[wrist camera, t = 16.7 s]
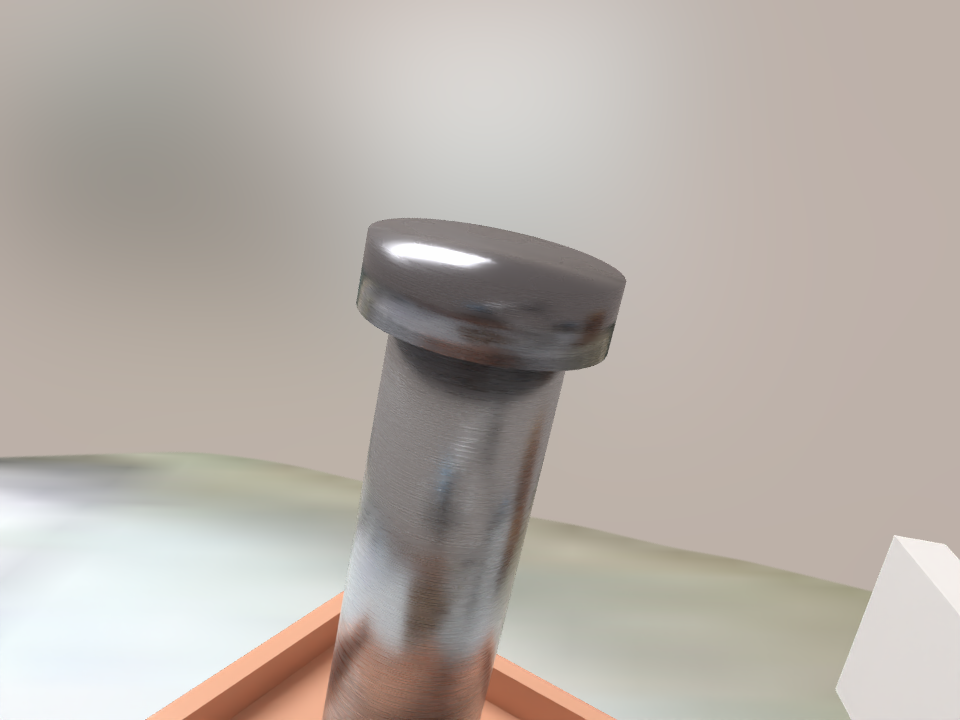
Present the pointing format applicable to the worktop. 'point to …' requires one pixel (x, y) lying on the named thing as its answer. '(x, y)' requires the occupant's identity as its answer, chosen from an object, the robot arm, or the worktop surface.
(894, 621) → the robot arm
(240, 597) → the worktop surface
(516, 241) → the metal plug
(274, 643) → the tray
